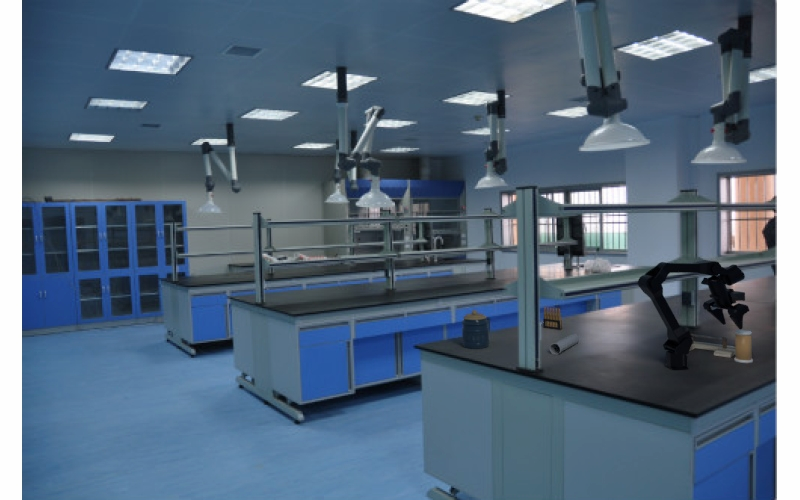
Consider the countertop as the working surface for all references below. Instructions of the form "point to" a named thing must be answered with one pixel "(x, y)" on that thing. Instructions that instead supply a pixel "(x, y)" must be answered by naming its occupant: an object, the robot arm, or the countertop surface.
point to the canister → (475, 331)
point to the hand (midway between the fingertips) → (732, 326)
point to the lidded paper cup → (743, 346)
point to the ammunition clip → (552, 319)
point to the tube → (564, 344)
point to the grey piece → (714, 346)
